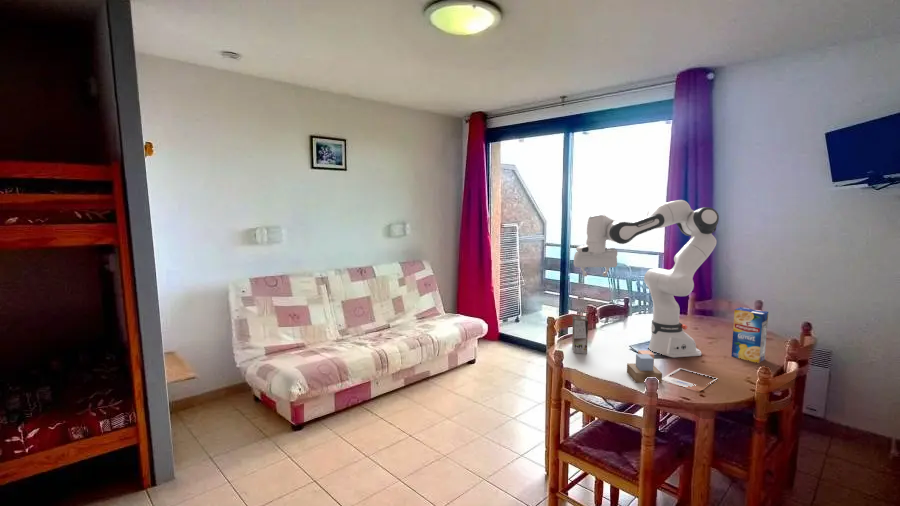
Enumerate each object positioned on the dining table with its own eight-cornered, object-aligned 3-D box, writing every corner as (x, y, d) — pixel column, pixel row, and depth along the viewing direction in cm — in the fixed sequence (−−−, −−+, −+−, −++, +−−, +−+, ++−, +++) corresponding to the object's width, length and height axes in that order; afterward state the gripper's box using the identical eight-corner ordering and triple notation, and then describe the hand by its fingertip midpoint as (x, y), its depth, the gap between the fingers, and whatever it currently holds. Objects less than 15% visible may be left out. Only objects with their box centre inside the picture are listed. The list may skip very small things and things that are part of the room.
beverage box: (759, 363, 188) (763, 314, 185) (731, 356, 197) (734, 309, 194) (764, 359, 192) (768, 311, 189) (737, 353, 201) (740, 307, 198)
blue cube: (648, 365, 176) (648, 354, 176) (653, 370, 172) (653, 358, 171) (635, 365, 177) (636, 354, 176) (640, 370, 172) (640, 358, 171)
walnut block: (651, 372, 179) (651, 363, 179) (661, 382, 169) (662, 373, 169) (626, 372, 180) (627, 363, 179) (635, 382, 170) (636, 373, 169)
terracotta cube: (649, 361, 192) (649, 350, 192) (653, 365, 187) (654, 354, 187) (637, 361, 193) (638, 350, 192) (642, 365, 188) (642, 354, 187)
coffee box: (587, 353, 202) (588, 320, 200) (573, 353, 204) (574, 320, 202) (585, 347, 211) (586, 315, 209) (571, 346, 212) (572, 315, 210)
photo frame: (660, 378, 172) (679, 367, 183) (660, 381, 172) (679, 369, 183) (699, 390, 160) (718, 378, 172) (699, 393, 161) (717, 380, 172)
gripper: (615, 247, 210) (614, 275, 212) (573, 247, 211) (572, 275, 213) (619, 248, 204) (618, 277, 206) (576, 248, 205) (575, 277, 207)
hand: (594, 276), depth 209 cm, fingers open, 8 cm apart
